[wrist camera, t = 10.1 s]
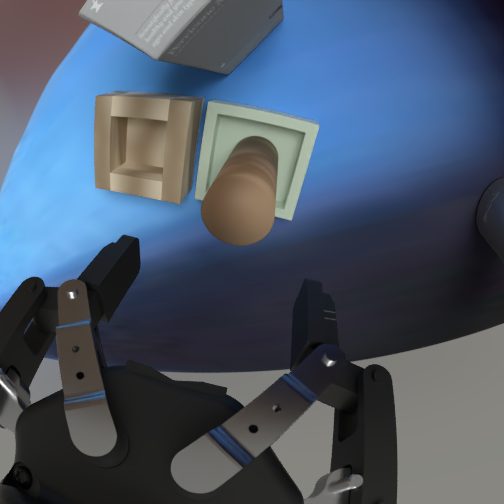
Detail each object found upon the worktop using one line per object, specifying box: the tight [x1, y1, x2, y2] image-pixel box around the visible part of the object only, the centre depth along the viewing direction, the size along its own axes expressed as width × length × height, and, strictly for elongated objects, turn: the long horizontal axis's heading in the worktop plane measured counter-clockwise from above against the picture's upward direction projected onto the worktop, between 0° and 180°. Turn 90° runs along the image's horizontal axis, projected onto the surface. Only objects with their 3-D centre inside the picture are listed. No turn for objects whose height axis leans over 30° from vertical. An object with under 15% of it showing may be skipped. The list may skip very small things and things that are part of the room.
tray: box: [195, 99, 320, 220], centre depth 27 cm, size 10×10×2 cm
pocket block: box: [94, 91, 204, 204], centre depth 26 cm, size 10×10×4 cm
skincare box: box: [79, 0, 284, 75], centre depth 13 cm, size 8×7×16 cm
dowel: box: [201, 136, 278, 245], centre depth 22 cm, size 4×4×12 cm
